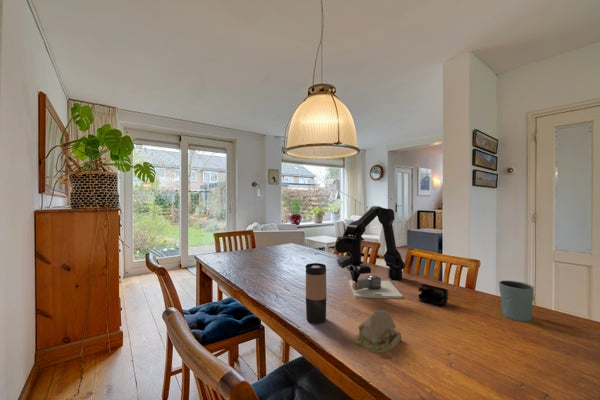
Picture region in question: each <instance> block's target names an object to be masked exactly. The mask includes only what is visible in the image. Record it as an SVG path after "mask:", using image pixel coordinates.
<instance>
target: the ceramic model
mask: <svg viewBox="0 0 600 400" xmlns="http://www.w3.org/2000/svg"><path fill="white" fill-rule="evenodd" d="M401 339H402V332H401V331H399V330H396V324H395V322H394V320H393V317H392V316H391V315H390V314H389V313H388V312H387V311H386V310H384V309H383V310H380V309H374V310H373V313H371V314H369V315H368V317H367V318H366V319H364V321H363V322H362V323H361V324H359V325H358V333H357V334H356V335H355V337H354V339H353V341H354V343H355V344H356V345H357V346H360V347H362V348H363V349H366V350H367V351H369V352H371V353H376V354H377V353H379V352H380V353H381V354H383V353H387V352H389V351H390V350H392V349H394V348H396V347H397V346H399V344H400V342H401ZM382 352H383V353H382ZM380 353H379V354H380Z"/></svg>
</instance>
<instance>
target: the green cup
mask: <svg viewBox="0 0 600 400" xmlns="http://www.w3.org/2000/svg"><path fill="white" fill-rule="evenodd" d="M498 285H499V286H498V287H499V288H498V289H499V294H500V302H501V314H502V315H503V316H504V317H505V318H508V319H511V320H513V321H518V322H525V323H526V322H527V323H528V322H531V321H532V319H533V301H534V291H535V288H534V286H533V285H531V284H529V283H526V282H522V281H515V280H500V281H498Z"/></svg>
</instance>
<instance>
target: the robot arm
mask: <svg viewBox="0 0 600 400" xmlns="http://www.w3.org/2000/svg"><path fill="white" fill-rule="evenodd" d="M376 218H377V219H378V221H379V223H380V225H381V226H382V231H383V235H384V241H385V242H384V243H385V247H386V251H385V253H384V254H383V259H384V262H385V266H386V267H388V269H387V277H388V278H389V279H390V280H392V281H404V278H403V270H404V269H405V268H406V263H405V262H404V260H403V259H402V254H401V253H400V252H399V250H398V249H397V244H396V238H395V233H394V232H395V231H394V227H393V223H394V222H395V218H396V217H395V211H394V209H392V208H385V207H382V206H379V205H378V206H377V205H376V206H375V205H372V206H371V207H370V208H369V209H368V210H367V211H366V212H365V213H364V214H363V215H361V216H360V218H358V219H357V220H355V221H352V222H350V223H348V224H347V226H346V229H345V231H344V233H343V234H342V237H339V238H338V241H336V243H335V247H334V248H335V251H336V252H337V253H338V254H344V253H345V254H346V255H345V256H344V255H343V256H342V257H340V258H338V259H337V260H336V261H337V264H338V267H340V268H341V269H347V271H349V274H350V276H351V280H353V281H356V280H359V277H360V276H361V275H364V274H371V272H372V267H370V266H368V265H366V264H364V262H363V261H362V256H364V254H363V253H362V242H363V241H365V238H364V237H362V236H363V235H364V233H365V232H366V228H367V226H369V225H370V223H372V221H374V220H375V219H376Z"/></svg>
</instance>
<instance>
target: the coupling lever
mask: <svg viewBox="0 0 600 400" xmlns="http://www.w3.org/2000/svg"><path fill="white" fill-rule="evenodd" d="M381 281H382V278H381V277H380V276H378V275H376V274H369V275H367V276H366V277H364V278H361V279H358V280H356V281H353V289H354V290H359V289H363V288H369V289H375V290H376V289H380V288H381Z"/></svg>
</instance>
